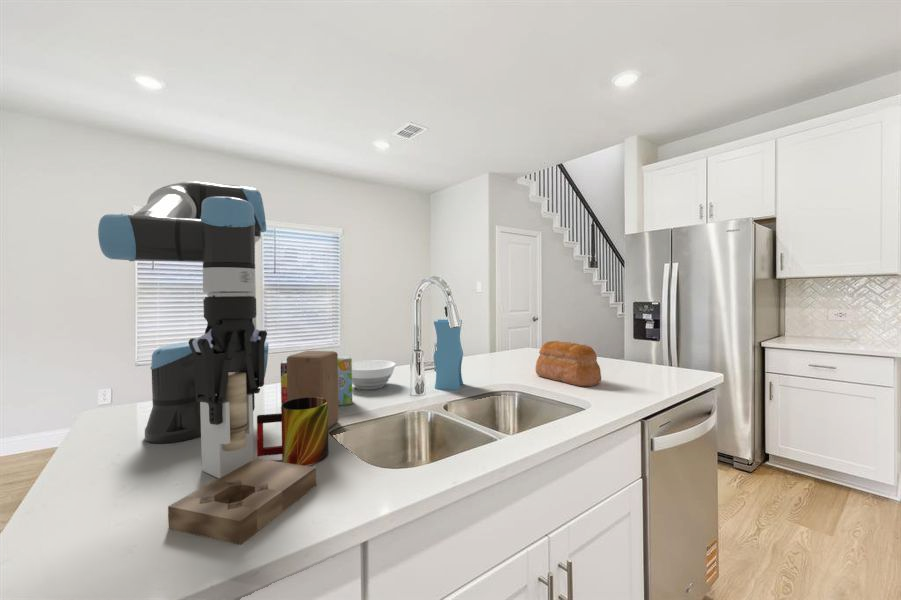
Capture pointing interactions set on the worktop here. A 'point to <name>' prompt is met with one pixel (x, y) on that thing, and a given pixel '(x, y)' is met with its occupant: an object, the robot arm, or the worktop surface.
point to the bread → (568, 363)
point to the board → (242, 500)
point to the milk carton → (213, 454)
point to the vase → (448, 356)
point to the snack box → (343, 381)
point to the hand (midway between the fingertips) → (233, 437)
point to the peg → (236, 410)
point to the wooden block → (314, 379)
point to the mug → (298, 431)
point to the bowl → (371, 373)
